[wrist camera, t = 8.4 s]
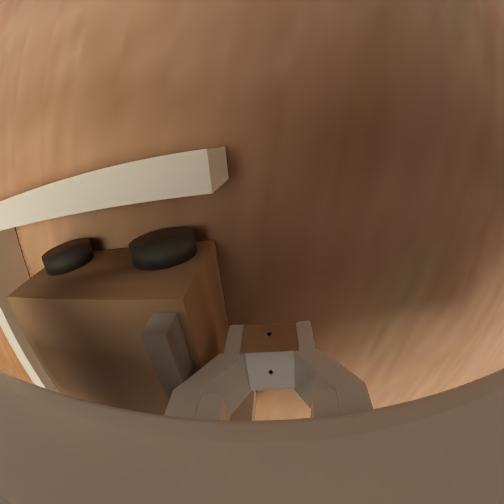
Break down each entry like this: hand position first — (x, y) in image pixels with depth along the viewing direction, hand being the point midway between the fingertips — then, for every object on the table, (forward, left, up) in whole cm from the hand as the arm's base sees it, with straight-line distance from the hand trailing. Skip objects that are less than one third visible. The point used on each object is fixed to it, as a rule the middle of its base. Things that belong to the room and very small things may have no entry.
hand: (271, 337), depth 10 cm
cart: (+6, 0, -2) cm, 6 cm away
